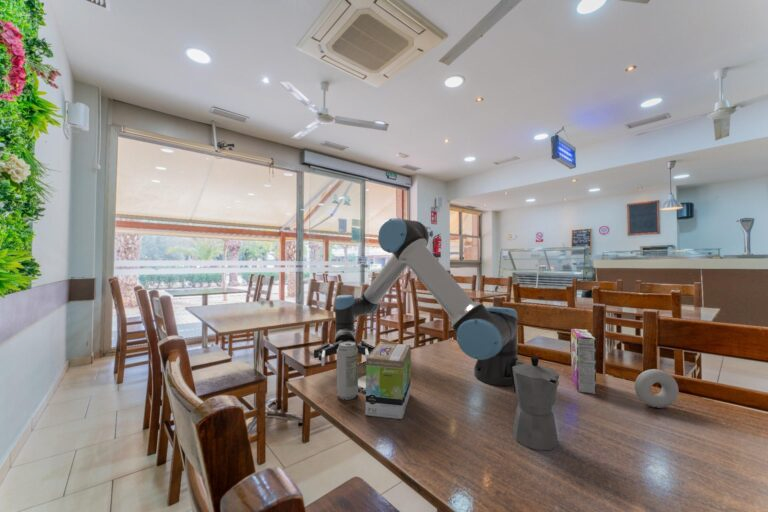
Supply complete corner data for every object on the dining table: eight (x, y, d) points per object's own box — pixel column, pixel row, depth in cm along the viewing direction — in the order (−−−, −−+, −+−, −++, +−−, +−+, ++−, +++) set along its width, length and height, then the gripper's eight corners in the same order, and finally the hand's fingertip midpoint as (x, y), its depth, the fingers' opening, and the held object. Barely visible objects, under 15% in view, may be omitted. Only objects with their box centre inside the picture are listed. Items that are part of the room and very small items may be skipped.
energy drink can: (348, 389, 97) (348, 339, 97) (362, 395, 93) (362, 343, 93) (332, 396, 93) (332, 343, 92) (346, 402, 88) (345, 348, 88)
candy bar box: (570, 378, 105) (570, 328, 105) (588, 380, 103) (588, 329, 103) (576, 392, 94) (576, 336, 94) (596, 395, 93) (596, 338, 92)
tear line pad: (394, 382, 102) (394, 379, 102) (370, 395, 93) (370, 392, 93) (369, 374, 108) (369, 372, 108) (345, 386, 99) (345, 384, 99)
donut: (671, 405, 86) (672, 367, 86) (682, 411, 83) (682, 372, 83) (631, 403, 87) (631, 366, 87) (640, 409, 84) (640, 371, 84)
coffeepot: (576, 453, 66) (577, 365, 66) (536, 460, 64) (536, 369, 63) (527, 416, 81) (527, 344, 81) (493, 421, 79) (493, 347, 78)
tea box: (404, 420, 79) (403, 360, 79) (364, 416, 81) (364, 357, 81) (411, 394, 94) (411, 343, 94) (377, 391, 96) (377, 341, 96)
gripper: (378, 350, 121) (386, 370, 100) (310, 353, 118) (303, 374, 97) (378, 330, 121) (386, 346, 100) (310, 332, 118) (303, 349, 97)
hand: (345, 360), depth 98 cm, fingers open, 13 cm apart
